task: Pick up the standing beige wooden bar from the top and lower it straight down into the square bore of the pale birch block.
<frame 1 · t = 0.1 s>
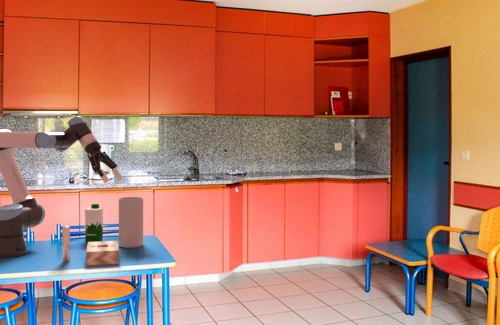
hand: (114, 180, 243), 36 cm above the table, tool tilted 35°, fingers open, 13 cm apart
milk carton: (93, 241, 274), on the table
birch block: (102, 258, 235), on the table
beige wooden bar: (66, 261, 228), on the table
cylinder vase: (131, 246, 264), on the table
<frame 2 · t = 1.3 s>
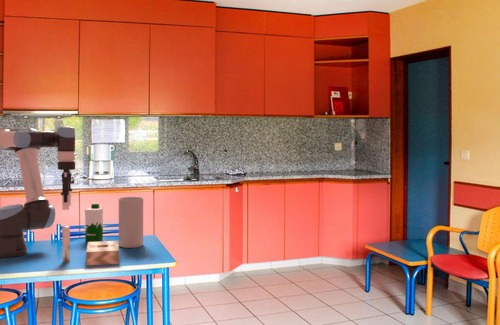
hand: (66, 207, 228), 25 cm above the table, tool pointing down, fingers open, 13 cm apart
nothing on the table moved.
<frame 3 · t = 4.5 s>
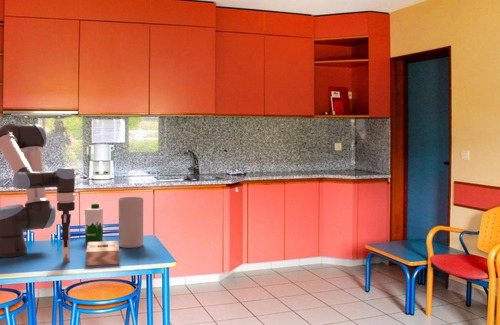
hand: (66, 252, 228), 4 cm above the table, tool pointing down, fingers closed on beige wooden bar, 3 cm apart
beige wooden bar: (66, 261, 229), on the table, touching gripper
everything else where it was.
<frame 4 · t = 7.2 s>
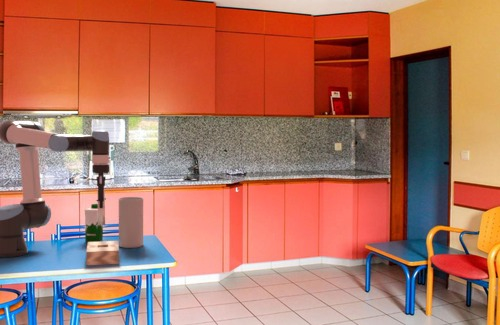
hand: (101, 214, 233), 21 cm above the table, tool pointing down, fingers closed on beige wooden bar, 3 cm apart
beige wooden bar: (101, 224, 233), point 16 cm above the table, touching gripper
everything else where it was.
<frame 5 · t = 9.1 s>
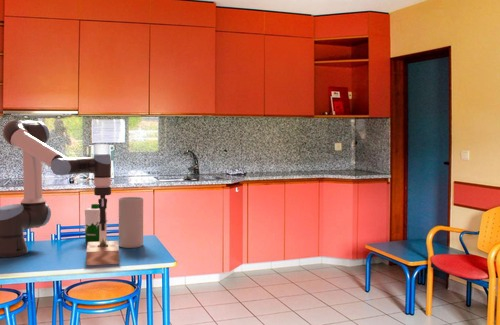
hand: (103, 236, 234), 11 cm above the table, tool pointing down, fingers closed on beige wooden bar, 3 cm apart
beige wooden bar: (103, 246, 234), point 6 cm above the table, touching gripper
everything else where it was.
when the fingers open (8 cm above the table, at t = 10.4 s): beige wooden bar drops 2 cm, resting in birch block.
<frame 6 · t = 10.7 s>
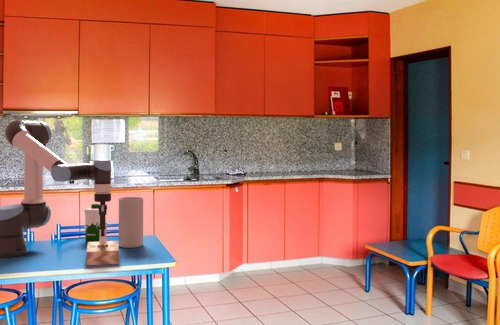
hand: (102, 241, 234), 8 cm above the table, tool pointing down, fingers open, 8 cm apart
beige wooden bar: (102, 258, 235), resting in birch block
everything else where it was.
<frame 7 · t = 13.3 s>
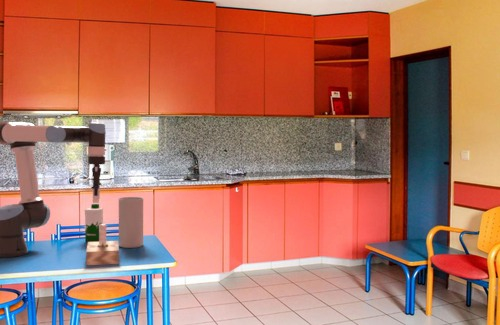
hand: (96, 200, 236), 27 cm above the table, tool pointing down, fingers open, 13 cm apart
nothing on the table moved.
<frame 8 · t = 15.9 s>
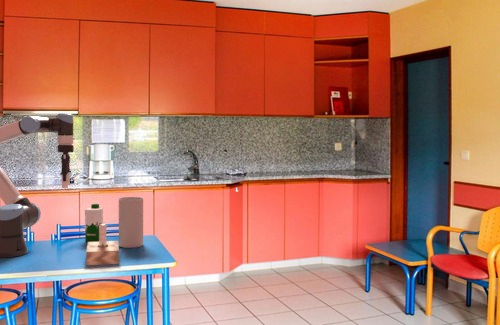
hand: (65, 186, 252), 32 cm above the table, tool pointing down, fingers open, 13 cm apart
nothing on the table moved.
at the end: beige wooden bar 0.1 cm off-centre on the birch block, point 0.0 cm above the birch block's base; beige wooden bar tilted 0°; the gripper is holding nothing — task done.
